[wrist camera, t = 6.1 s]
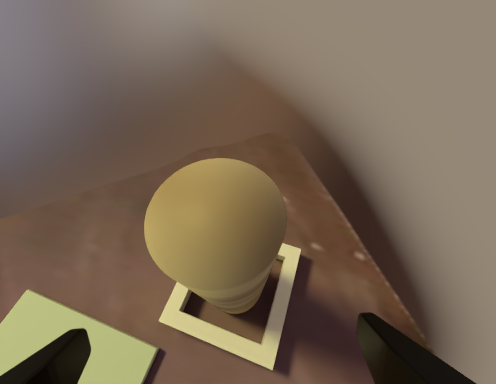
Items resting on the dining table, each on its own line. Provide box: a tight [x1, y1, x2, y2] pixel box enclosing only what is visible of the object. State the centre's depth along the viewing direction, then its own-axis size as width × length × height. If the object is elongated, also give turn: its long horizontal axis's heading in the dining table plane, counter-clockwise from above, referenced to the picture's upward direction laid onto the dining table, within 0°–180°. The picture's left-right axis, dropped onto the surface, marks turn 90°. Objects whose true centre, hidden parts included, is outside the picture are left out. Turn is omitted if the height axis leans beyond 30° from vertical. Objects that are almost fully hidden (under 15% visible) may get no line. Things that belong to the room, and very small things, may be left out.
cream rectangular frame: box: [159, 243, 301, 370], centre depth 17 cm, size 8×8×1 cm
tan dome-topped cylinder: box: [144, 158, 287, 314], centre depth 12 cm, size 4×4×13 cm
